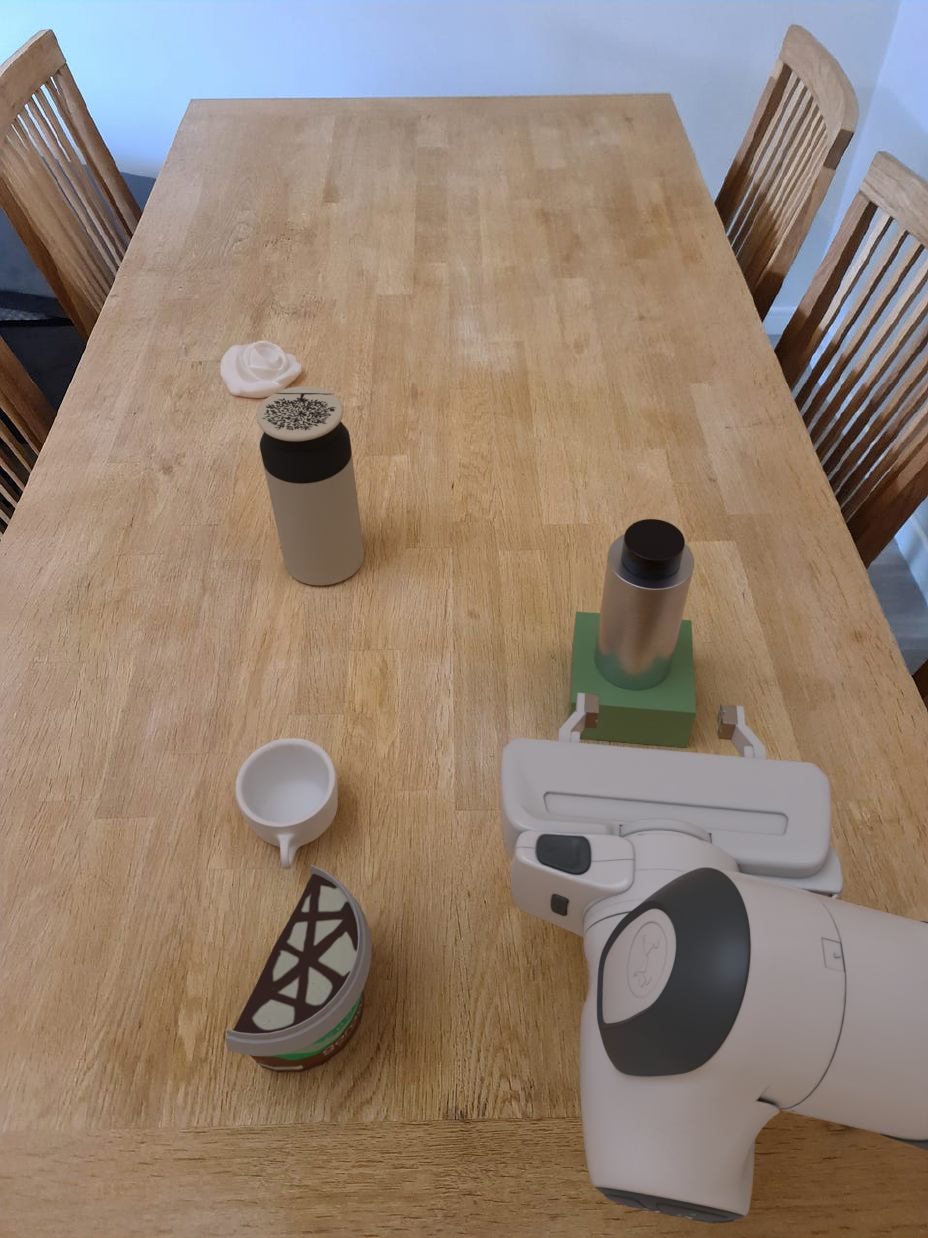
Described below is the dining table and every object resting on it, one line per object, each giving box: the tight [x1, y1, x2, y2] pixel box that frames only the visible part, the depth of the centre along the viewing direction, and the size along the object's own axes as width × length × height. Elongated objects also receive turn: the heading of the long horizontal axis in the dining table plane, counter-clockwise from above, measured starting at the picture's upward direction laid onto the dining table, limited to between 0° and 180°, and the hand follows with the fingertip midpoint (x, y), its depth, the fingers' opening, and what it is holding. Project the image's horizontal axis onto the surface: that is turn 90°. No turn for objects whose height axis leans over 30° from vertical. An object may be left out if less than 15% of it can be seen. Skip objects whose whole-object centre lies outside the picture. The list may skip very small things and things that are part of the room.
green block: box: [567, 611, 697, 748], centre depth 83 cm, size 10×10×5 cm
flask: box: [594, 518, 695, 690], centre depth 76 cm, size 6×6×14 cm
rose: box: [219, 340, 303, 399], centre depth 116 cm, size 10×4×10 cm
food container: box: [224, 864, 373, 1073], centre depth 63 cm, size 12×6×10 cm, turn 160°
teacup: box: [234, 737, 339, 871], centre depth 75 cm, size 10×8×5 cm
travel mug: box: [256, 385, 365, 586], centre depth 90 cm, size 8×8×18 cm
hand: (658, 704), depth 65 cm, fingers open, 8 cm apart
